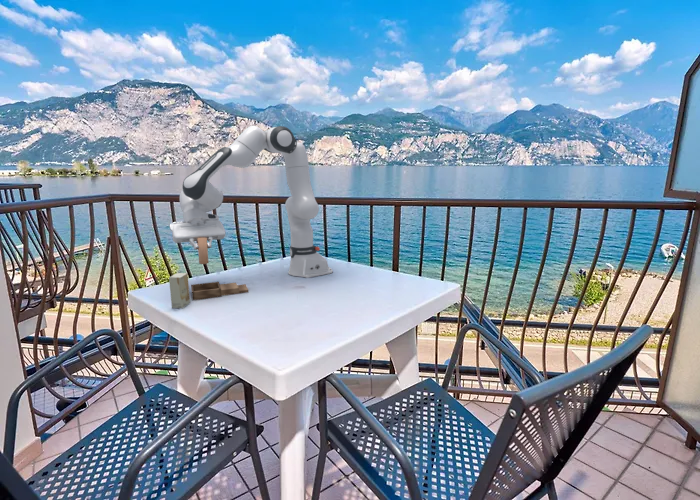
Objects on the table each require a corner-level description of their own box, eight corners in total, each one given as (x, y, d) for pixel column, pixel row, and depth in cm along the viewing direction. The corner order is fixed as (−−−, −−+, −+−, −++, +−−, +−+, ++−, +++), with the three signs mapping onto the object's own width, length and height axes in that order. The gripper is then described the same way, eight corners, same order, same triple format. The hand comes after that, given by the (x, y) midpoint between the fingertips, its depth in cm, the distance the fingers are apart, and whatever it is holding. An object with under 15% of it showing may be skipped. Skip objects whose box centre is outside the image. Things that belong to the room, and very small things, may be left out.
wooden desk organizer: (245, 286, 158) (244, 278, 157) (249, 293, 149) (248, 285, 148) (191, 292, 149) (191, 284, 148) (192, 300, 140) (191, 292, 139)
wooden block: (208, 261, 146) (206, 236, 144) (208, 263, 143) (207, 238, 141) (198, 262, 145) (197, 237, 142) (199, 264, 142) (197, 238, 139)
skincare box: (182, 308, 132) (179, 277, 129) (171, 308, 132) (168, 277, 129) (190, 302, 138) (188, 272, 135) (179, 302, 138) (176, 272, 135)
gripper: (169, 217, 139) (175, 246, 134) (221, 215, 151) (229, 241, 145) (168, 227, 144) (174, 255, 138) (219, 224, 156) (227, 249, 150)
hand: (203, 248), depth 142 cm, fingers closed on wooden block, 4 cm apart
